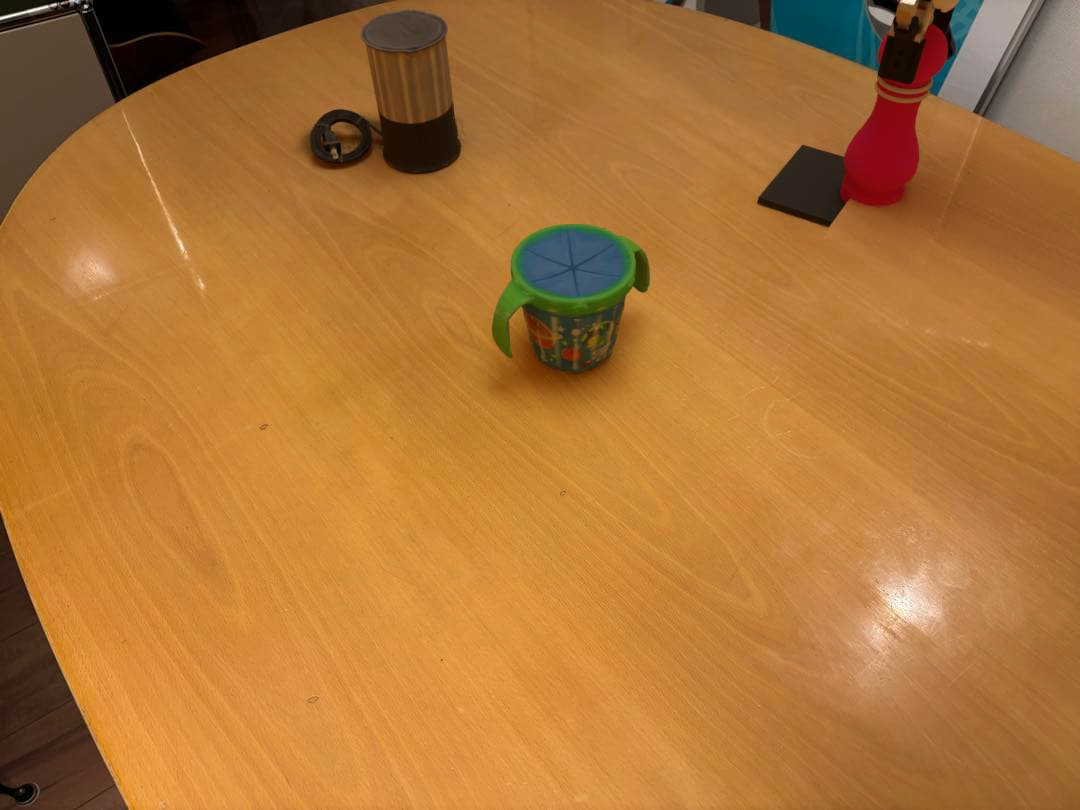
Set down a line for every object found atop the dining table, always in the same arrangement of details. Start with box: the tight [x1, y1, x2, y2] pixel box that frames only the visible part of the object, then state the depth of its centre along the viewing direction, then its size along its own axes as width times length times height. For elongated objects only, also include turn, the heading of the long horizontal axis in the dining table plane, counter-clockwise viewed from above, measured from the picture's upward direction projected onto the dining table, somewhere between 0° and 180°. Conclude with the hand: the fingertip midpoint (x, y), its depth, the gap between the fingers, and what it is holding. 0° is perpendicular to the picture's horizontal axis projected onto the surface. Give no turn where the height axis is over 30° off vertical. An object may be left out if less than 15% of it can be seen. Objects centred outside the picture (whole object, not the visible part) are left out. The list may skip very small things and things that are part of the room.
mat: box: [757, 144, 847, 228], centre depth 93 cm, size 20×12×1 cm, turn 56°
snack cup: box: [491, 223, 651, 375], centre depth 76 cm, size 16×10×10 cm
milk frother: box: [309, 8, 462, 173], centre depth 97 cm, size 14×16×15 cm
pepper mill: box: [840, 10, 949, 207], centre depth 85 cm, size 7×7×20 cm
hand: (911, 58), depth 81 cm, fingers open, 8 cm apart
